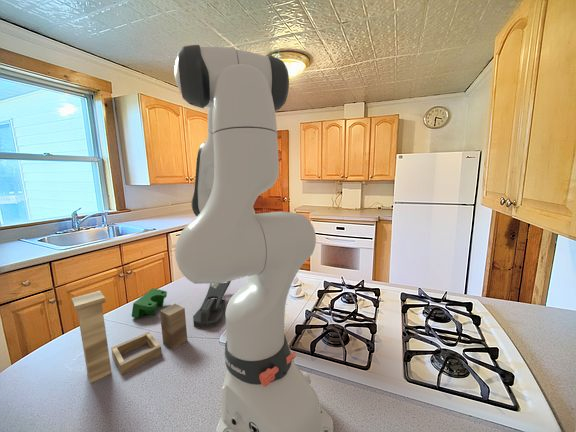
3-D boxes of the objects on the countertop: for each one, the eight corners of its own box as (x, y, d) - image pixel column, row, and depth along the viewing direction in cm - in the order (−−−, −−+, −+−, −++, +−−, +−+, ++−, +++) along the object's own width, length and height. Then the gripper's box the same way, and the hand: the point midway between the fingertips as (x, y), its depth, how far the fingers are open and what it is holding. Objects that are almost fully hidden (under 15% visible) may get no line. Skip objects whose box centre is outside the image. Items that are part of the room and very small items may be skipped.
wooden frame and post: (161, 354, 65) (154, 285, 62) (89, 391, 54) (76, 309, 51) (149, 339, 71) (142, 276, 68) (82, 369, 60) (70, 295, 57)
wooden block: (187, 340, 70) (184, 308, 69) (172, 350, 67) (169, 315, 65) (177, 335, 73) (175, 303, 71) (163, 344, 69) (159, 310, 68)
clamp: (151, 328, 84) (148, 312, 79) (133, 324, 84) (129, 308, 79) (169, 299, 94) (167, 283, 89) (153, 296, 94) (151, 279, 89)
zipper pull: (234, 275, 100) (217, 308, 75) (234, 291, 101) (218, 328, 76) (211, 276, 100) (187, 308, 75) (212, 291, 101) (189, 328, 76)
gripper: (198, 236, 86) (174, 272, 79) (241, 244, 75) (218, 287, 68) (210, 245, 90) (188, 280, 84) (252, 254, 79) (231, 295, 73)
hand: (202, 283), depth 76 cm, fingers open, 8 cm apart
